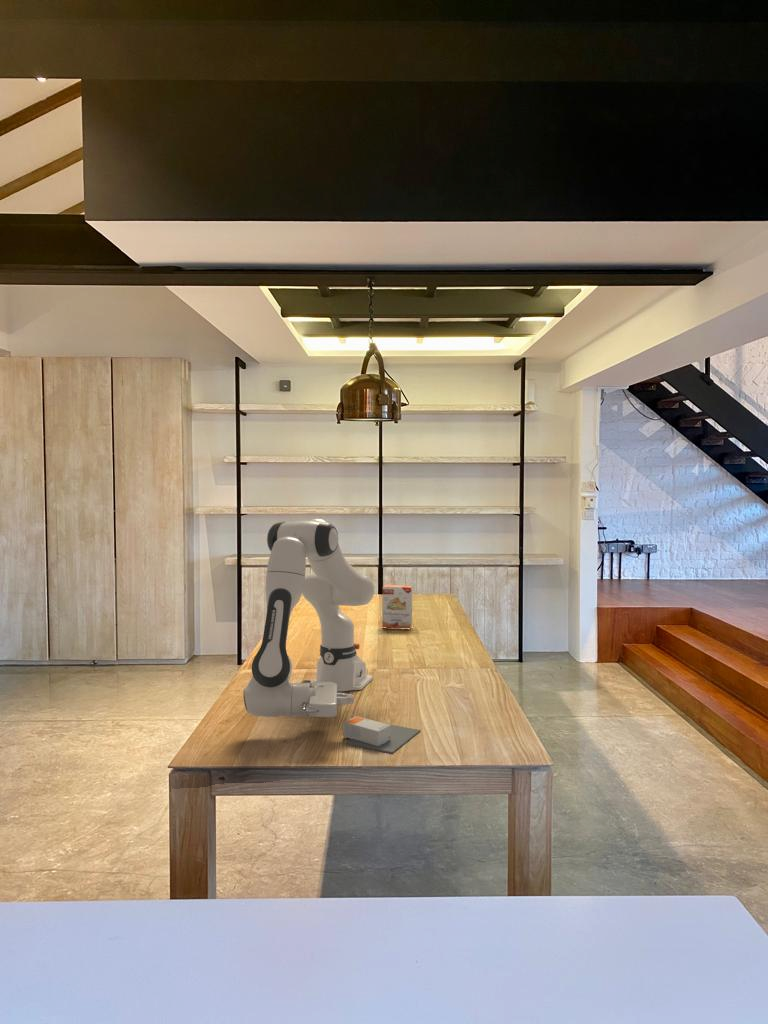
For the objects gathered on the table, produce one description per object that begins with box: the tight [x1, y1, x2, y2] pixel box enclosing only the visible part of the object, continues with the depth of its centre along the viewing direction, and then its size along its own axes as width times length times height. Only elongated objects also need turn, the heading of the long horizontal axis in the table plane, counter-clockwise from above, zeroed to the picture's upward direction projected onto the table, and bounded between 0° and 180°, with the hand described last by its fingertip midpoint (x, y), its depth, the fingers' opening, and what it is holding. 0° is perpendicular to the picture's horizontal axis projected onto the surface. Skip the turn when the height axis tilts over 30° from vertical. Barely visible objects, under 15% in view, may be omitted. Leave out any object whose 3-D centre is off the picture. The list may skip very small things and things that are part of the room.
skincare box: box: [342, 715, 392, 746], centre depth 182 cm, size 6×4×12 cm
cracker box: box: [381, 584, 413, 629], centre depth 329 cm, size 14×6×21 cm, turn 81°
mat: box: [344, 724, 421, 754], centre depth 184 cm, size 18×14×1 cm
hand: (353, 698), depth 187 cm, fingers closed
